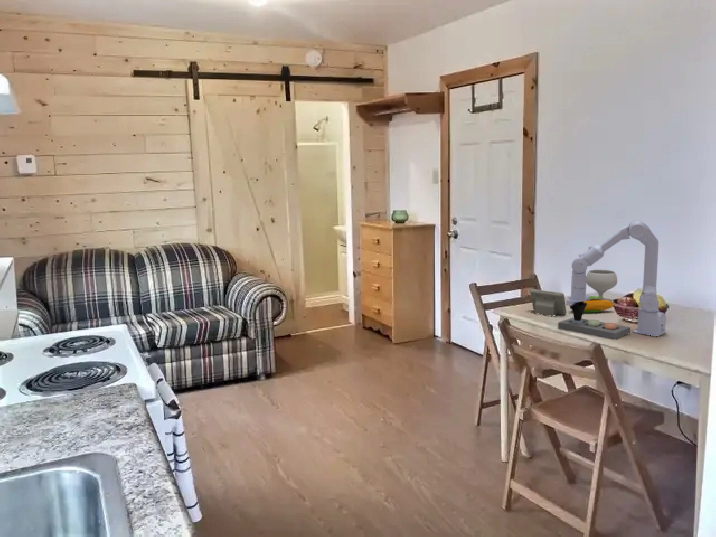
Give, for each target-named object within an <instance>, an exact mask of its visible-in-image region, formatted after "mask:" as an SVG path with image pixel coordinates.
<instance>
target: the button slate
mask: <svg viewBox="0 0 716 537" xmlns="http://www.w3.org/2000/svg"><path fill="white" fill-rule="evenodd" d="M572 323H577V324H582V323H583V320H580V321H577V320H574V319H572Z"/></svg>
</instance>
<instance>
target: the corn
mask: <svg viewBox="0 0 716 537" xmlns="http://www.w3.org/2000/svg"><path fill="white" fill-rule="evenodd" d="M589 296H590V300H589V301H588V300H586V301H584V303H587V306H586V307H585V309H584V311H583V314H593V313H596V314H597V313H601V312H602V311H606V310H608V309H612V308H613V307H614V306H613V303H612V302H610V301H608V300H609V299H607V300H601V299H597V298H604V296H603V297H599V296H595V295H593V296H591V295H589ZM569 308H570V310H572V309H571V307H570V306H569Z"/></svg>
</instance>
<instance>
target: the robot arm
mask: <svg viewBox="0 0 716 537" xmlns="http://www.w3.org/2000/svg"><path fill="white" fill-rule="evenodd" d="M630 237H631V238H632V239H635V240H637V241H639V242H641V243H642V244H641V245H643V246H644V260H643V280H642V283H643V284H642V292H641V293H640V296H639V303H640V306H639V307H638V308H637V309H638V310H637V312H638V313H637V326H636V327H637V329H634V330H632V332H633V333H634V334H641V335H645V334H646V335H647V336H650V335H651V336H652V337H656V336H657V337H659V336H662V335H664V334H666V333H667V332H666V320H667V318H666V317H667V316H666V313H664V312H661V311H660V310H659V305H660V303H659V300H658V297H657V277H658V259H659V240H658V238H657V237H656V236H655V234H654V232H652V230H651V228H650V227H649V226H648V225H647V224H646V223H644V222H643V221H641V220H633V221H631V222H629V224H627V225H624V226H623V227H621V228H620V229H618V230H616V232H614V233H613V234H611V236H609V237H608V238H607V239H605V240H604V241H603V242H602V243H601V244H599V245H596V244H594V245H593V246H592V245H590V246H588V249H587V250H586V251H584V252H582V253H580V254H578V257H576V258H574V259H573V260H572V263H571V269H572V271H571V274H572V275H571V282H570V283H571V284H570V296H568V297H567V298H568V300H567V299H566V301H565V305H566V306H569V308H570V307H571V309H570V310H571V312H572V314H573V315H572V317H574V320H577V321H580V320H581V318H582V316H583V314H584V313H583V311H584V309H585V307H586V306H587V303H584V301H586V300H588V301H589V300H590V296H591V295H587V283H586V280H587V277H586V276H587V270H588V267H591V266H592V265H594V264H595V263H596V262H598V261H600V260H601V259H602V258H604V256H605V252H606V251H608V250H609V249H611V248H612V247H614V246H615V245H616V244H618V243H619V242H621V241H623V240H624V241H625V240H630V239H631V238H630ZM582 319H583V318H582Z"/></svg>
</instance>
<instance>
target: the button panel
mask: <svg viewBox="0 0 716 537" xmlns="http://www.w3.org/2000/svg"><path fill="white" fill-rule="evenodd" d="M572 319H574V316H572V317H570V318H567V319H564V320H561V321H558V324H557V326H558V327H557V329H561V330H565V331H570V332H575V333H580V334H584V335H585V334H586V335H590V336H595V337H600V338H603V339H609V338H610V339H611V340H614V339H616V340H618V339H620V338H622V337H621V336H623V337H625V336H627V335H626V334H628V333H630V334H631V327H630V326H626V325H621V324H620V325H619V324H617V329H616V330H609V329H604V326H605V323H606V322H602V321H600V326H598V327H593V326H588V320H589V319H587V318H581V320H583V323H582V324H577V323H572ZM624 335H625V336H624ZM628 335H629V334H628ZM619 337H620V338H619ZM617 338H618V339H617Z"/></svg>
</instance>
